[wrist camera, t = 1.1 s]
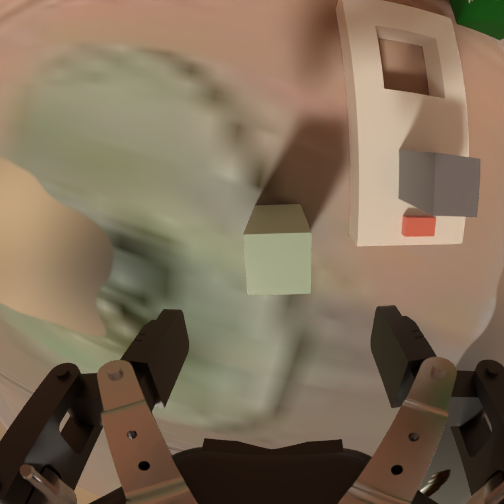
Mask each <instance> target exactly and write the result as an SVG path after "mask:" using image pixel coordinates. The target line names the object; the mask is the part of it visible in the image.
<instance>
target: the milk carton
mask: <svg viewBox="0 0 504 504" xmlns="http://www.w3.org/2000/svg"><path fill="white" fill-rule="evenodd" d="M449 1H450V4H451V6H452V9H453V12H454V15H455V19H456V22H457V24H460V25H463V26H466V27H468V28H471V29H474V30H477V31H479V32H482V33H484V34H487V35H489V36H492V37H494V38H496V39H498V40H501V39H503V38H504V0H449Z"/></svg>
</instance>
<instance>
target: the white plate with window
mask: <svg viewBox="0 0 504 504" xmlns="http://www.w3.org/2000/svg"><path fill="white" fill-rule="evenodd" d="M335 10H336V16H337V22H338V28H339V35H340V42H341V49H342V57H343V65H344V75H345V85H346V96H347V109H348V126H349V149H350V225H349V236H350V237H351V239H352V240H353V241H354V243H355V244H356V245H357V246H387V245H429V244H462V240H463V233H464V225H465V217H477V211H478V200H479V185H480V159H477V158H470V157H469V138H468V118H467V105H466V95H465V87H464V80H463V73H462V67H461V61H460V56H459V51H458V46H457V41H456V37H455V33H454V29H453V25H452V21H451V18H448V17H445V16H442V15H439V14H436V13H432V12H429V11H425V10H422V9H418V8H414V7H411V6H406V5H402V4H398V3H393V2H388V1H383V0H339V1H338V3H337V5H336V8H335ZM378 38H380V39H387V40H393V41H398V42H403V43H408V44H413V45H418V46H422V49H423V54H424V60H425V67H426V74H427V82H428V90H429V96H428V95H423V94H417V93H411V92H405V91H398V90H390V89H384V81H383V73H382V65H381V57H380V51H379V44H378Z"/></svg>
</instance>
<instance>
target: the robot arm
mask: <svg viewBox="0 0 504 504" xmlns="http://www.w3.org/2000/svg"><path fill="white" fill-rule="evenodd" d="M188 351H189V339H188V334H187V329H186V325H185V320H184V315H183V312H182V310H175V309H164V310H163V311H162V312H161V313H160V315H159V316H158V318H157V319H156V320H152V321H150V322H149V323H147V324H146V325H144V326H143V328H142V329H141V330H140V332H139V333H138V335H137V336H136V338H135V339H134V341H133V342H132V343H131V345H130V346H129V348H128V349H127V350H126V352H125V353H124V355H123V356H122V358H121V359H120V360H114V361H110V362H108V363H106V364H104V365H103V366H102V367H101V368H100V369H99V370H98V372H97V373H90V374H81V373H80V371H79V369H78V367H77V366H76V365H75V364H72V363H63V364H60V365H58V366H56V367H54V368H53V369H52V370H51V371H50V372H49V374H48V375H47V376H46V378H45V379H44V380H43V382H42V383H41V384H40V385H39V387H38V388H37V389H36V391H35V392H34V393H33V395H32V396H31V398H30V399H29V400H28V402H27V403H26V404H25V406H24V407H23V409H22V410H21V411H20V413H19V414H18V416H17V417H16V419H15V420H14V421H13V423H12V424H11V426H10V427H9V429H8V430H7V432H6V433H5V435H4V436H3V438H2V440H1V441H0V504H77V498H76V495H75V493H74V490H75V487H76V485H77V483H78V480H79V478H80V476H81V474H82V471H83V469H84V467H85V465H86V462H87V460H88V458H89V456H90V454H91V451H92V449H93V447H94V445H95V443H96V441H97V439H98V436H99V434H100V432H101V430H102V428H103V426H104V430H105V434H106V438H107V441H108V445H109V448H110V452H111V455H112V459H113V462H114V465H115V468H116V471H117V474H118V477H119V480H120V482H121V485H122V486H121V487H120V488H118V489H116V490H114V491H112V492H111V493H109V494H107V495H105V496H103V497H101V498H99V499H97V500H95V501H93V502H91V503H89V504H438V503H436V502H435V501H433V500H432V499H430V498H429V497H427V496H426V495H424V494H423V493H421V492H420V491H419V490H418V488H419V486H420V484H421V482H422V480H423V478H424V476H425V474H426V472H427V470H428V467H429V464H430V463H431V460H432V458H433V456H434V453H435V451H436V448H437V446H438V443H439V440H440V438H441V435H442V432H443V429H444V427H445V426H450V427H451V430H452V433H453V436H454V438H455V441H456V444H457V447H458V450H459V453H460V457H461V460H462V463H463V466H464V470H465V473H466V477H467V480H468V484H469V488H470V492H471V497H470V499H469V501H468V503H467V504H504V367H503V366H502V365H501V364H500V363H498V362H496V361H494V360H483V361H480V362H479V363H478V364H477V367H476V369H475V371H458V370H457V369H456V367H455V365H454V364H453V363H452V362H450V361H449V360H447V359H445V358H441V357H437V356H436V354H435V353H434V351H433V349H432V348H431V346H430V345H429V343H428V341H427V340H426V338H425V337H424V335H423V334H422V332H421V331H420V329H419V327H418V326H417V324H416V323H415V322H414V321H413V320H411V319H410V318H409V317H407V316H402V315H401V314H400V312H399V311H398V309H397V307H396V306H395V305H391V306H378V307H377V308H376V311H375V317H374V323H373V329H372V334H371V351H372V354H373V356H374V359H375V362H376V365H377V367H378V370H379V373H380V376H381V378H382V381H383V384H384V387H385V390H386V393H387V396H388V398H389V401H390V404H391V407H392V408H395V407H401V408H400V410H399V412H398V413H397V415H396V417H395V419H394V421H393V423H392V425H391V426H390V428H389V430H388V432H387V433H386V435H385V437H384V438H383V440H382V442H381V444H380V445H379V447H378V448H377V450H376V452H375V453H374V455H373V456H372V457H371V456H369V455H367V454H365V453H362V452H359V451H356V450H351V449H345V448H343V445H342V439H339V440H328V441H312V442H305V443H301V444H297V445H292V446H288V447H283V448H278V449H267V448H262V447H258V446H254V445H250V444H246V443H242V442H239V441H228V440H216V439H207V438H205V439H204V443H203V447H198V448H193V449H188V450H185V451H182V452H179V453H176V454H174V455H172V454H171V452H170V450H169V448H168V446H167V444H166V442H165V440H164V438H163V436H162V434H161V432H160V430H159V428H158V425H157V423H156V421H155V419H154V417H153V415H152V410H153V408H154V407H160V408H165V406H166V403H167V401H168V399H169V396H170V394H171V392H172V389H173V387H174V385H175V382H176V380H177V378H178V375H179V373H180V371H181V368H182V366H183V364H184V361H185V359H186V357H187V354H188ZM67 411H68V413H69V414H70V417H69V419H68V421H67V422H66V424H65V426H64V428H63V429H62V431H61V433H60V431H59V426H60V423H61V421H62V419H63V417H64V416H65V414H66V412H67ZM485 414H487V416H488V418H489V421H490V423H491V426H492V433H491V431H490V428H489V426H488V424H487V421H486V419H485V417H484V416H485Z"/></svg>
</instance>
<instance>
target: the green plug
mask: <svg viewBox="0 0 504 504" xmlns="http://www.w3.org/2000/svg"><path fill="white" fill-rule="evenodd" d="M243 241H244V255H245V268H246V281H247V295H275V294H310V290H311V230H310V228H309V225H308V222H307V220H306V217H305V215H304V212H303V209H302V207H301V204H281V205H255V207H254V209H253V211H252V214H251V216H250V219H249V221H248V224H247V226H246V229H245V231H244V233H243Z"/></svg>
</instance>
